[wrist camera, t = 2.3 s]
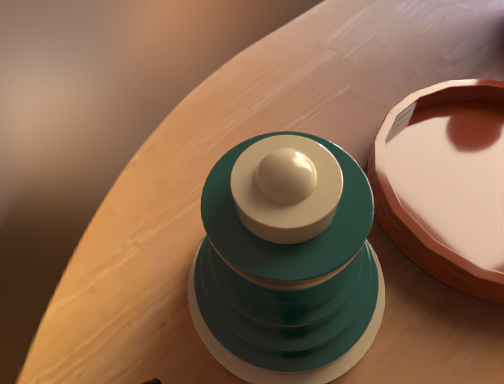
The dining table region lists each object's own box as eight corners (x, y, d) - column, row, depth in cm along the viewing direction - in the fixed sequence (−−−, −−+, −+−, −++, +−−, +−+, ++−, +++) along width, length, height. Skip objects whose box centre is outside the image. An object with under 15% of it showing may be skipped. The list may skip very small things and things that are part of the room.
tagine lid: (420, 342, 19) (599, 259, 8) (225, 428, 18) (137, 464, 7) (325, 182, 25) (359, 11, 14) (172, 238, 23) (79, 95, 13)
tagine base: (687, 247, 21) (736, 228, 18) (458, 351, 19) (482, 343, 16) (501, 82, 28) (520, 54, 26) (326, 143, 27) (330, 119, 24)
